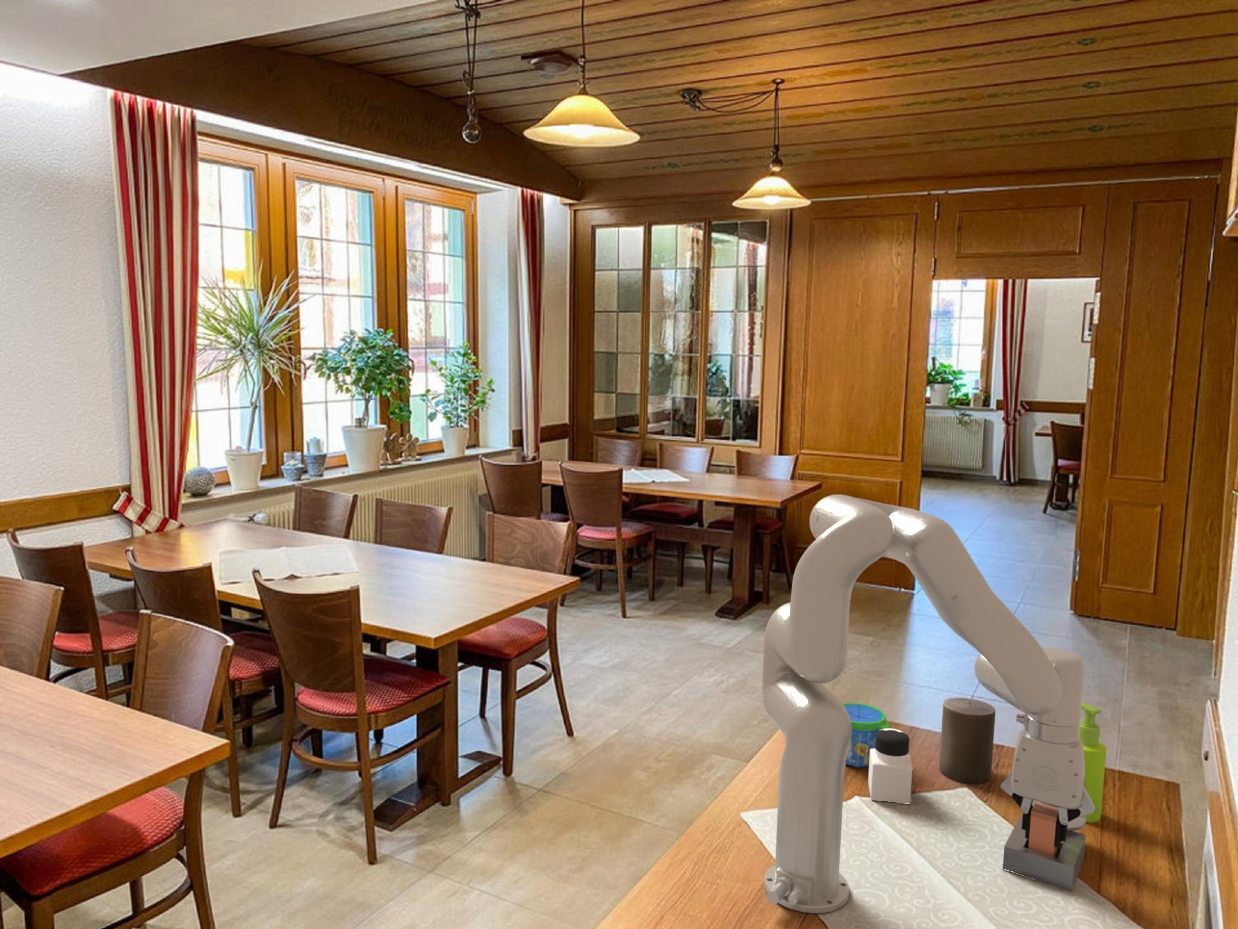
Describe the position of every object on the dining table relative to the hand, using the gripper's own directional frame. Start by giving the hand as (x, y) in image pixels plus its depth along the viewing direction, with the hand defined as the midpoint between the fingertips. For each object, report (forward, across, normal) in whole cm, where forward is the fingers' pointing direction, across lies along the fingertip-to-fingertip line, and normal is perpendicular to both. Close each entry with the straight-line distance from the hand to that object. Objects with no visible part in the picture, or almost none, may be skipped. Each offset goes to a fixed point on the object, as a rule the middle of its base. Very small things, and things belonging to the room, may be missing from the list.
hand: (1043, 838), depth 143 cm
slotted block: (+5, 0, +5) cm, 7 cm away
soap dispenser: (+5, +2, +24) cm, 25 cm away
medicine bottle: (+5, -28, +10) cm, 30 cm away
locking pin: (+3, 0, 0) cm, 3 cm away
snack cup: (+5, -38, +20) cm, 43 cm away
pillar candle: (+5, -19, +28) cm, 34 cm away
